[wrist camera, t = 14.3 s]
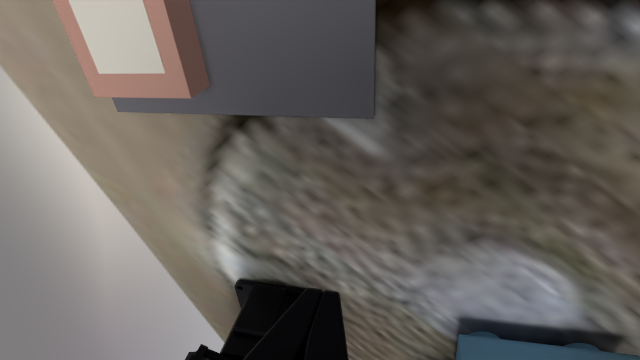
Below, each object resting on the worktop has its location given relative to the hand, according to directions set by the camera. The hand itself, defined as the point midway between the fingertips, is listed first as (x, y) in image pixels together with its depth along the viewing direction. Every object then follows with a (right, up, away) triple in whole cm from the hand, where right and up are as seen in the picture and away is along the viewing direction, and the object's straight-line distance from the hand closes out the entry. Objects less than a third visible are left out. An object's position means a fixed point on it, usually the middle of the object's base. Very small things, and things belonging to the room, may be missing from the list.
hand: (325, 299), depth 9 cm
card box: (-7, +12, +7) cm, 15 cm away
